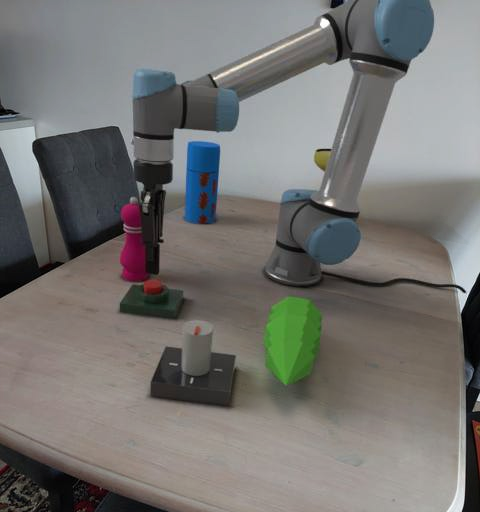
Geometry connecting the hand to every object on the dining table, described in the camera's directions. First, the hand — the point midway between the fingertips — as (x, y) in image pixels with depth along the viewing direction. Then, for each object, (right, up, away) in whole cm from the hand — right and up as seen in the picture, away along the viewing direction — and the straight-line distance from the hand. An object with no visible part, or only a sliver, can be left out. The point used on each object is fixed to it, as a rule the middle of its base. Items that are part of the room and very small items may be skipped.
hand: (152, 272), depth 102 cm
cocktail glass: (+52, +25, +73) cm, 93 cm away
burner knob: (+11, -18, -21) cm, 30 cm away
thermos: (+5, +25, +63) cm, 68 cm away
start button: (0, -4, +2) cm, 4 cm away
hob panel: (+11, -21, -19) cm, 31 cm away
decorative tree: (+28, -19, -12) cm, 35 cm away
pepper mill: (-7, +1, +17) cm, 18 cm away
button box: (-1, -7, +4) cm, 8 cm away
